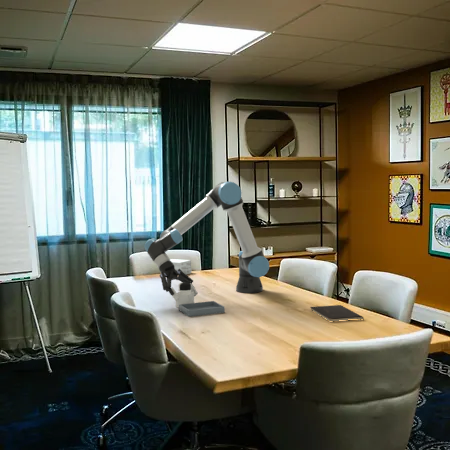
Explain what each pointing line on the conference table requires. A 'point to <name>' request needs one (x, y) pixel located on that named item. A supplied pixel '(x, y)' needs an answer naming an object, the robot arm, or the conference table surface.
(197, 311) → the tray
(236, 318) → the conference table surface
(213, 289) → the conference table surface
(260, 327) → the conference table surface
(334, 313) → the hardcover book
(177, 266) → the supplement box
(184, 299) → the medicine bottle
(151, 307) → the conference table surface
